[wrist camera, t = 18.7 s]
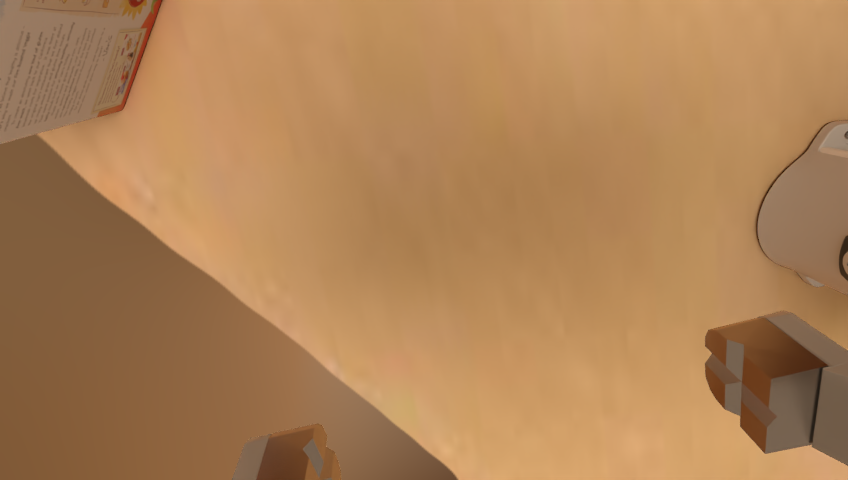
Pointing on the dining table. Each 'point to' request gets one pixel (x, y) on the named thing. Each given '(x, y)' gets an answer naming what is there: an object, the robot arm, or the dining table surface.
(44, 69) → the cracker box
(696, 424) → the dining table surface
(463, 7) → the dining table surface
